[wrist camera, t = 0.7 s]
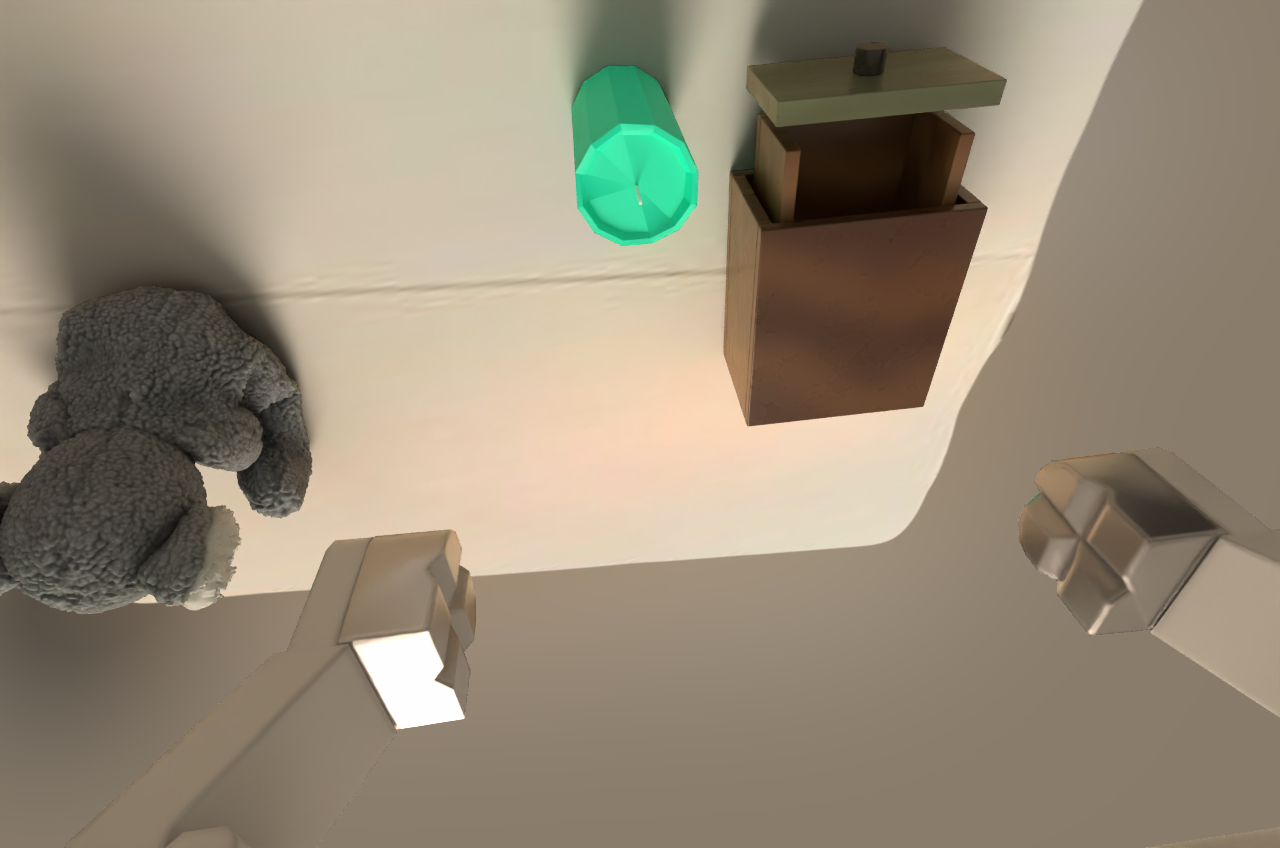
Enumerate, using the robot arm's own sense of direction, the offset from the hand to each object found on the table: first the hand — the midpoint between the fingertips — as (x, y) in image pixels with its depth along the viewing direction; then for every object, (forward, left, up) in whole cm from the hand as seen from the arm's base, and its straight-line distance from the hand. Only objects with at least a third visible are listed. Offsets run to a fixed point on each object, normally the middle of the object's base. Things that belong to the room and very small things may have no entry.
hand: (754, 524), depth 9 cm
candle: (+5, 0, -35) cm, 35 cm away
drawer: (+9, +13, -34) cm, 37 cm away
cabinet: (+16, +13, -35) cm, 40 cm away
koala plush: (+20, -33, -35) cm, 52 cm away
